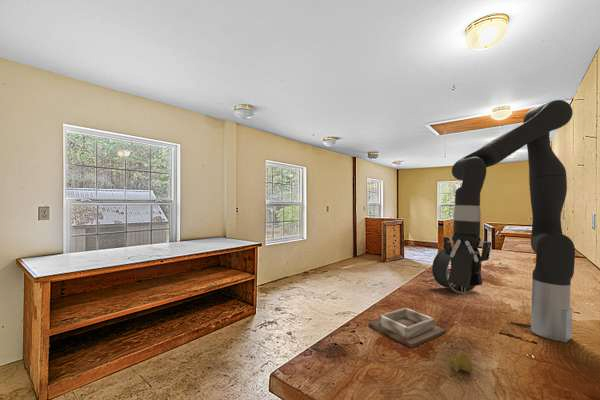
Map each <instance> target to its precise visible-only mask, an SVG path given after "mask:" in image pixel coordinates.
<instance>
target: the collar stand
mask: <svg viewBox="0 0 600 400" xmlns="http://www.w3.org/2000/svg"><path fill="white" fill-rule="evenodd" d="M368 327H370V328H371V329H374V330H376V331H377V332H378V333H379V332H380V333H381V334H383V335H385V336H387V337H390V338H391V339H393V340H394V341H396V342H399V343H400V344H403V345H405V346H406V347H409V348H410V349H413V348H415V347H417V346H419V345H422V344H424V343H425V342H428V341H431V340H433V339H435V338H437V337H440V336H443V335H444V334H446V333H447V332H446V331H447V330H446V329H444V328H442V327H440V326H437V325H436V318H434V317H431V316H428V315H426V314H423V313H421V312H419V311H416V310H413V309H410V308H407V307H405V306H404V307H403V308H399V309H395V310H393V311H389V312H385V313H382V314H379V315H378V319H376V320H373V321H371V322H368Z"/></svg>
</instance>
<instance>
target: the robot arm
mask: <svg viewBox="0 0 600 400" xmlns="http://www.w3.org/2000/svg"><path fill="white" fill-rule="evenodd" d="M573 113H574V112H573V107H572V106H571V104H570V103H568V102H567V101H566V100H561V99H554V100H550V101H547V102H545V103H542V104H540V105H537V106H535V107H533V108H531V109H529V110H528V111H526V113H525V115H524V117H523V123H522V124H520V125H518V126H516V127H515V128H512V129H511V130H509V131H507V132H505V133H503V134H500V135H499V136H497V137H496V138H494V139H492V140H491V141H489V142H487V143H486V144H484V145H482V147H481V148H478V149H477V150H476V151H473V152H471V153H469V154H467V155H466V156H463V157H462V158H460V159H458V160H457V161H455V162H454V164H453V166H452V167H451V174H452V176H453V178H455V179H456V180H459V181H462V183H461V186H459V187H458V188H457V189H455V193H454V209H453V216H452V217H453V228H452V229H453V231H452V232H453V235H452V236H444V237H443V246H444V248H445V254H446V255H449V256H450V257H451V261H450V267H451V266H452V262H453V258H454V255H455V253H456V251H457V250H458V248H467V249H469V251H470V254H471V252H473V258H474V261H475V262H474V274H478V273H479V272H481V273H482V262H486V261H489V258H490V253H491V247H492V242H491V241H484V240H482V239H481V217H482V216H481V215H482V214H481V213H482V211H481V192H482V189H483V186H484V184H485V183H484V182H485V180H486V177H487V176H486V175H487V168H490V167H492V166H495V165H497V164H499V163H500V162H502V161H504V160H505V159H507V158H508V157H510V156H511V155H513V154H514V153H515V152H517V151H518V150H520V149H522V148H524V146H526V148H527V159H528V170H529V171H528V186H529V195H530V205H531V214H532V225H531V235H530V247H531V249H532V251H533V252H534V253H535V256H536V257H535V266H534V269H533V270H532V273H531V274H532V275H531V276H532V278H531V283H532V284H531V285H532V286H531V317H530V331H531V333H534V334H535V335H537V336H539V337H542V338H545V339H549V340H552V341H557V342H561V343H565V344H566V343H567V342H568V341H570V340H571V339H572V338H573V337H572V335H573V331H572V330H573V308H572V307H571V285H572V278H573V277H574V273H575V265H576V264H575V263H576V262H575V261H576V246H575V243H574V241H573V240H572V239H571V238H570V237H569V236H567V235H566V234H563V229H562V219H561V218H562V211H563V208H564V205H565V202H566V196H567V191H568V182H567V181H568V180H567V179H568V178H567V170H566V168H565V166H564V164H563V163H562V161H561V160H560V159H559V157H558V156H557V155H556V154H555V152H554V151H553V148H552V146H551V140H550V139H551V138H550V133H551V132H552V131H554V130H557V129H560V128H562V127H564V126H566V125H567V124H568V123H569V122H570V121H571V119H572V117H573ZM452 243H454V246H453V247H452ZM479 246H480V247H481V248H482V250H481V252H480V250H479V248H478V247H479ZM444 248H443V249H444ZM452 248H453V251H452ZM473 248H477V250H478V251H476V252H475V251H474V250H475V249H473ZM480 253H481V254H480Z"/></svg>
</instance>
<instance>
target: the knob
mask: <svg viewBox="0 0 600 400" xmlns="http://www.w3.org/2000/svg"><path fill="white" fill-rule="evenodd" d="M456 352H457V353H456V354H455V357H454V358H453V357H449V358H448V361H449V365H451V366H450V367H451V368H452V370H453V369H454V370H455V371H456V372H455V371H454V370H453V371H454V372H455V373H458V372H459V371H460V370H462V371H464V372H466V373H469V374H473V373H474V364H473V362H472V360H471V358H470V356H469V355H468V354H467V353H466V352H465V351H463V350H462V349H458V350H457V351H456Z"/></svg>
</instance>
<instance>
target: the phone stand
mask: <svg viewBox="0 0 600 400" xmlns="http://www.w3.org/2000/svg"><path fill="white" fill-rule="evenodd" d="M477 248H478V247H477ZM477 248H473V249H475V250H474V251H475V252H476V251H478V250H479V249H478V250H477ZM474 262H475V261H474V258H473V252H471V254H470V251H469V249H467V248H458V250H457V251H456V253H455V255H454V258H453V262H452V266H451V265H450V269H451V270H450V271H449V273H448V274H449V275H448V283H451V284H455V285H458V286H462V287H465V288H469V287H474V286H475V287H479V286H483V278H482V272H481V273H480V272H479V273H478V274H474Z"/></svg>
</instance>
